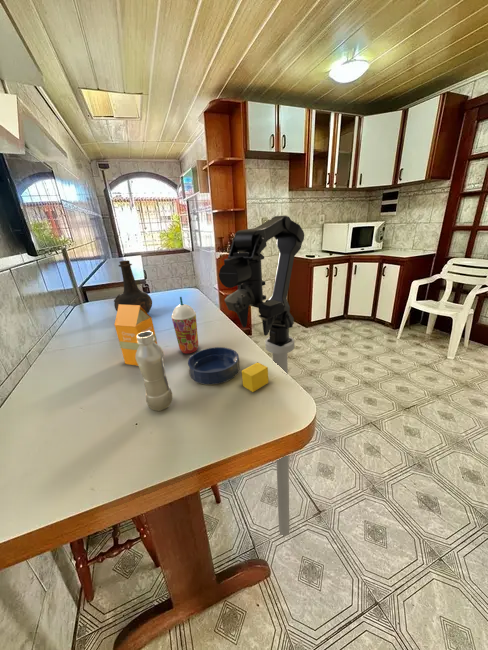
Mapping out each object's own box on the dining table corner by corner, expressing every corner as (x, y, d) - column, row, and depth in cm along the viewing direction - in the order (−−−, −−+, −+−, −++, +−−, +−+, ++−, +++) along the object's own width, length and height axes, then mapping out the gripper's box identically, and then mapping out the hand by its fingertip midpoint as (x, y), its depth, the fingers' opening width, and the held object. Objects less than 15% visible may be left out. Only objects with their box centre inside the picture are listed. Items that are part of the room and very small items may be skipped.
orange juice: (140, 353, 97) (127, 300, 89) (160, 355, 94) (148, 301, 86) (124, 364, 90) (109, 308, 83) (146, 367, 87) (131, 309, 80)
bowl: (220, 354, 92) (219, 342, 90) (250, 370, 81) (249, 357, 79) (181, 372, 83) (178, 359, 81) (208, 393, 72) (206, 379, 70)
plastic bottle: (150, 417, 64) (131, 343, 57) (146, 402, 70) (128, 333, 62) (177, 408, 67) (162, 336, 59) (170, 394, 73) (156, 326, 65)
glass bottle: (121, 312, 144) (107, 260, 133) (155, 308, 147) (144, 256, 137) (114, 324, 128) (98, 265, 117) (153, 318, 131) (140, 261, 121)
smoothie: (173, 354, 95) (162, 300, 87) (186, 343, 102) (177, 293, 94) (193, 356, 91) (184, 301, 84) (205, 346, 99) (197, 293, 91)
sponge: (258, 377, 77) (257, 362, 75) (268, 382, 74) (267, 367, 72) (242, 386, 74) (241, 370, 72) (252, 392, 71) (251, 376, 69)
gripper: (207, 280, 75) (214, 331, 80) (253, 290, 61) (256, 350, 67) (238, 273, 81) (242, 320, 87) (285, 280, 68) (286, 336, 74)
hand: (254, 330), depth 79 cm, fingers open, 9 cm apart
